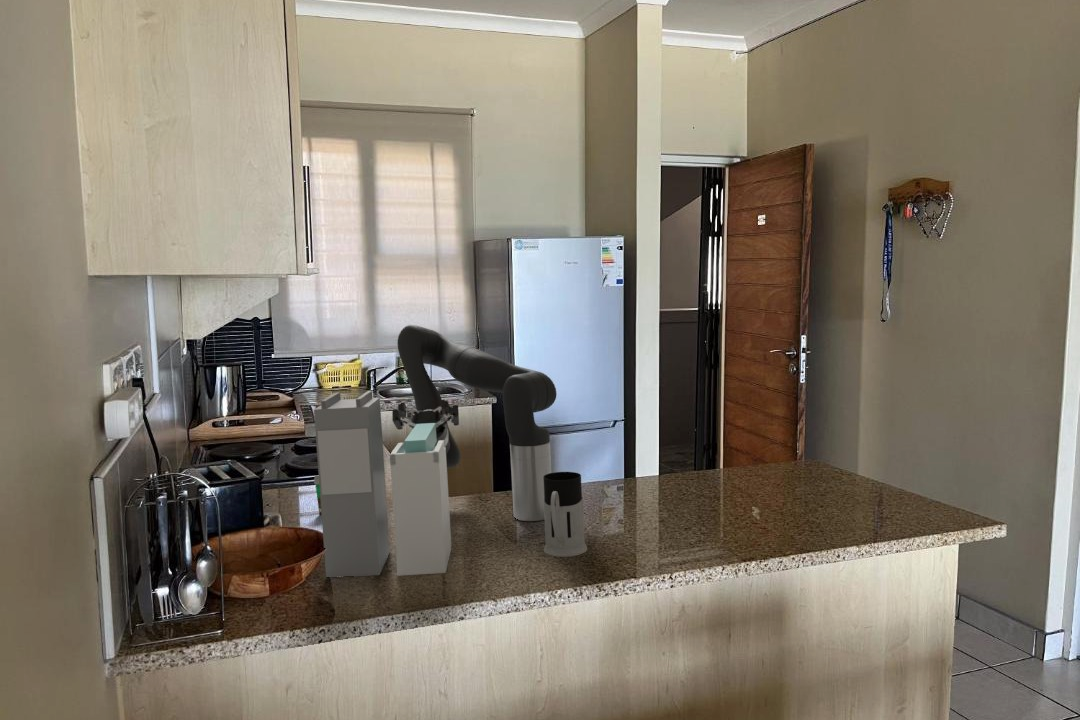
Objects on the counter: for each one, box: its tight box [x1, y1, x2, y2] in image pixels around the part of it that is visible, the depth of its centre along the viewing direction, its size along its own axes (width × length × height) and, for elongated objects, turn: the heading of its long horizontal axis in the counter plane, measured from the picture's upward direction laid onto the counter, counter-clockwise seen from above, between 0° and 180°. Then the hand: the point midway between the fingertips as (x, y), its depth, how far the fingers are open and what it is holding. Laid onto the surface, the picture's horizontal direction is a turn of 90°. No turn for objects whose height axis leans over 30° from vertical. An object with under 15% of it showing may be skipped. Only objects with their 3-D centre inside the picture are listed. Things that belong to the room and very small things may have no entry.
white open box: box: [389, 440, 452, 577], centre depth 158 cm, size 9×15×23 cm, turn 2°
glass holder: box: [543, 471, 588, 558], centre depth 159 cm, size 9×14×15 cm, turn 167°
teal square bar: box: [404, 423, 437, 453], centre depth 162 cm, size 4×20×4 cm, turn 2°
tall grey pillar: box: [313, 390, 391, 578], centre depth 157 cm, size 10×13×34 cm
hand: (422, 404), depth 170 cm, fingers open, 8 cm apart
